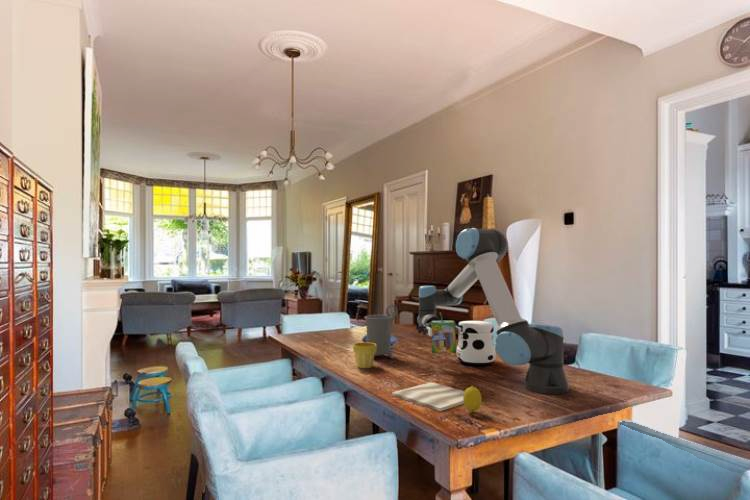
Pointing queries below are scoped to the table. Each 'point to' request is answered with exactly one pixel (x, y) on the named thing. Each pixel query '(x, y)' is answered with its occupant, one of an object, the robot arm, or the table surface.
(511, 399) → the table surface
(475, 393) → the lemon
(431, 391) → the ash board
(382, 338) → the mug
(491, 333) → the milk container
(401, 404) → the table surface
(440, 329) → the chalk box
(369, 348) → the plant pot
